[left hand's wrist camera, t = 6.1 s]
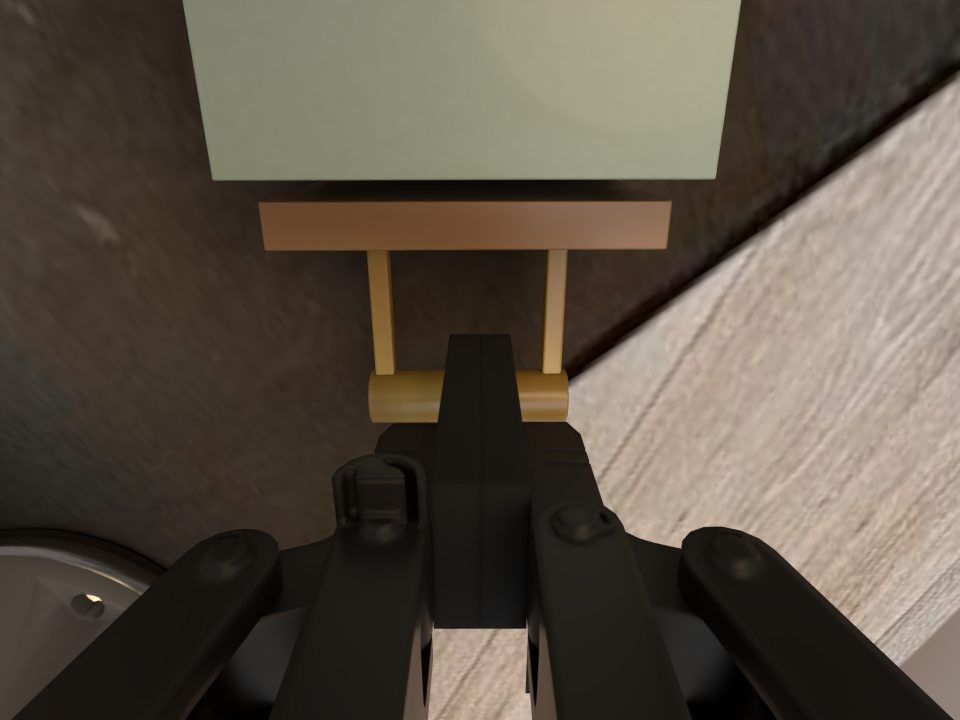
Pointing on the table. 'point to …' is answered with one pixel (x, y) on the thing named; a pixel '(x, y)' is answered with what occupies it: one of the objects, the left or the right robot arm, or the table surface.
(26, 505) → the table surface
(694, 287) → the table surface
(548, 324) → the drawer
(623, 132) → the cabinet
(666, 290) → the table surface
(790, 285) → the table surface
